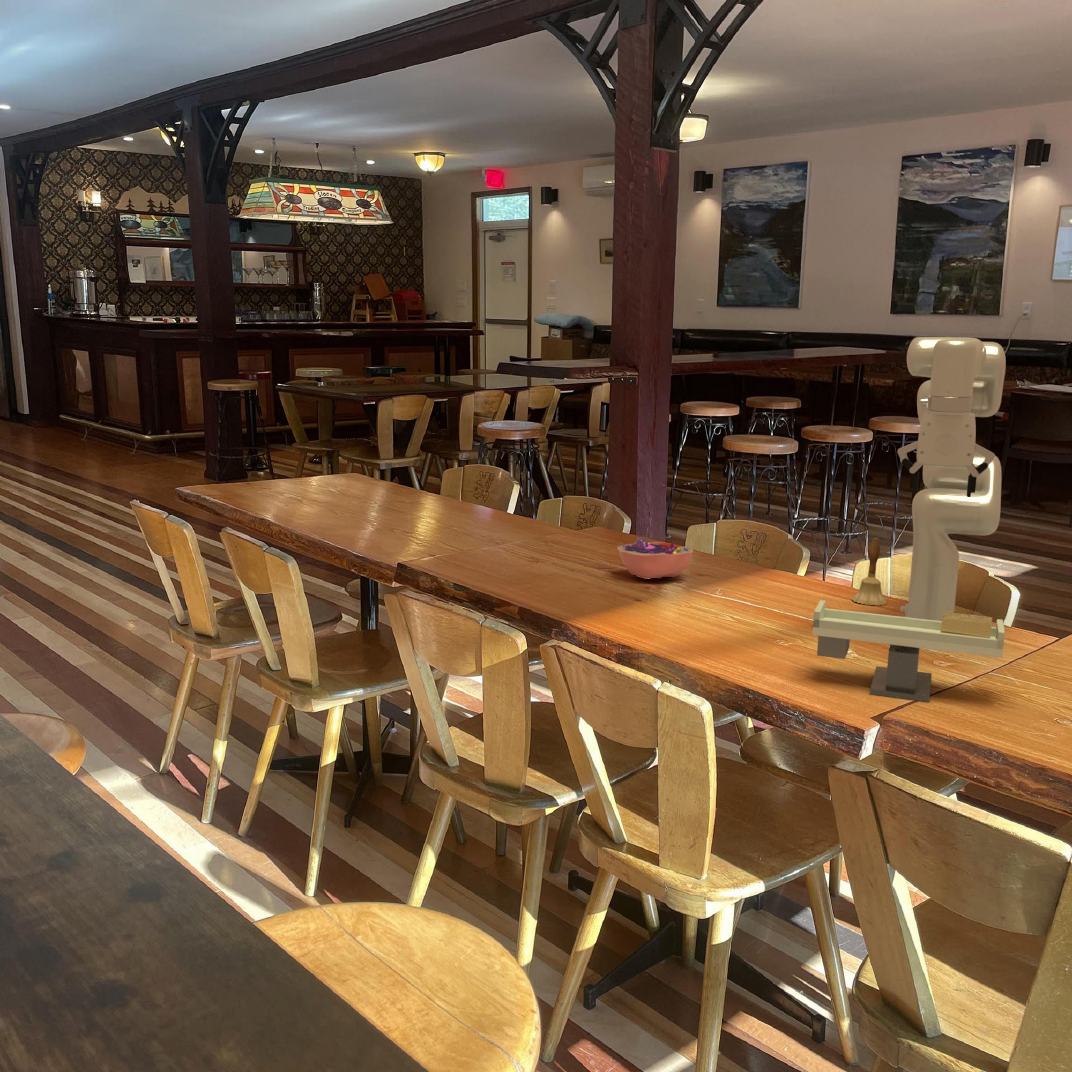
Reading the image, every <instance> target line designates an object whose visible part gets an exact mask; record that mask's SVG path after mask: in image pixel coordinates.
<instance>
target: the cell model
mask: <svg viewBox="0 0 1072 1072" xmlns="http://www.w3.org/2000/svg"><path fill="white" fill-rule="evenodd" d="M616 549H617V550H618V552H619V555H620V558H621V561H622V563H623V564H624V566H625V567H626V569H627V571H628V573H629V574H630V573H631V574H630V575H632V574H633V575H637V576H640V577H644V578H657V579H663V578H662V577H673V578H675V576H676V577H678V576H679V575H680V574H682V573H684V571H686V570H687V568H688V567H689V565H690V562H691V559H692V554H693V552H694V549H693V548H690V547H687V546H684V545H683V546H682V545H678V544H675V543H672V542H671V543H669V542H661V541H660V542H659V541H658V542H657V541H649V542H647V541H646V537H645V536H640V537H638V538H637V539H635V540H634V542H633V543H627V544H622V545H618V546H617V548H616ZM633 575H632V576H633Z"/></svg>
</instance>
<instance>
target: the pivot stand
mask: <svg viewBox="0 0 1072 1072" xmlns="http://www.w3.org/2000/svg"><path fill="white" fill-rule="evenodd" d="M920 650H921V648H916V647H908V646H900V645H891V644H889V647H888V656H887V667H885V666H875V670H874V675H873V678H872V682H871V684H870V685H871V686H870V689H869V690H870V692H869V695H873V696H881V697H889V698H895V699H903V700H908V701H909V700H910V701H917V702H924V703H925V702H926V703H930V698H931V697H930V696H931V688H932V687H931V686H932V676H933V675H932V674H933V673H931V672H923V671H919V661H920Z"/></svg>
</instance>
